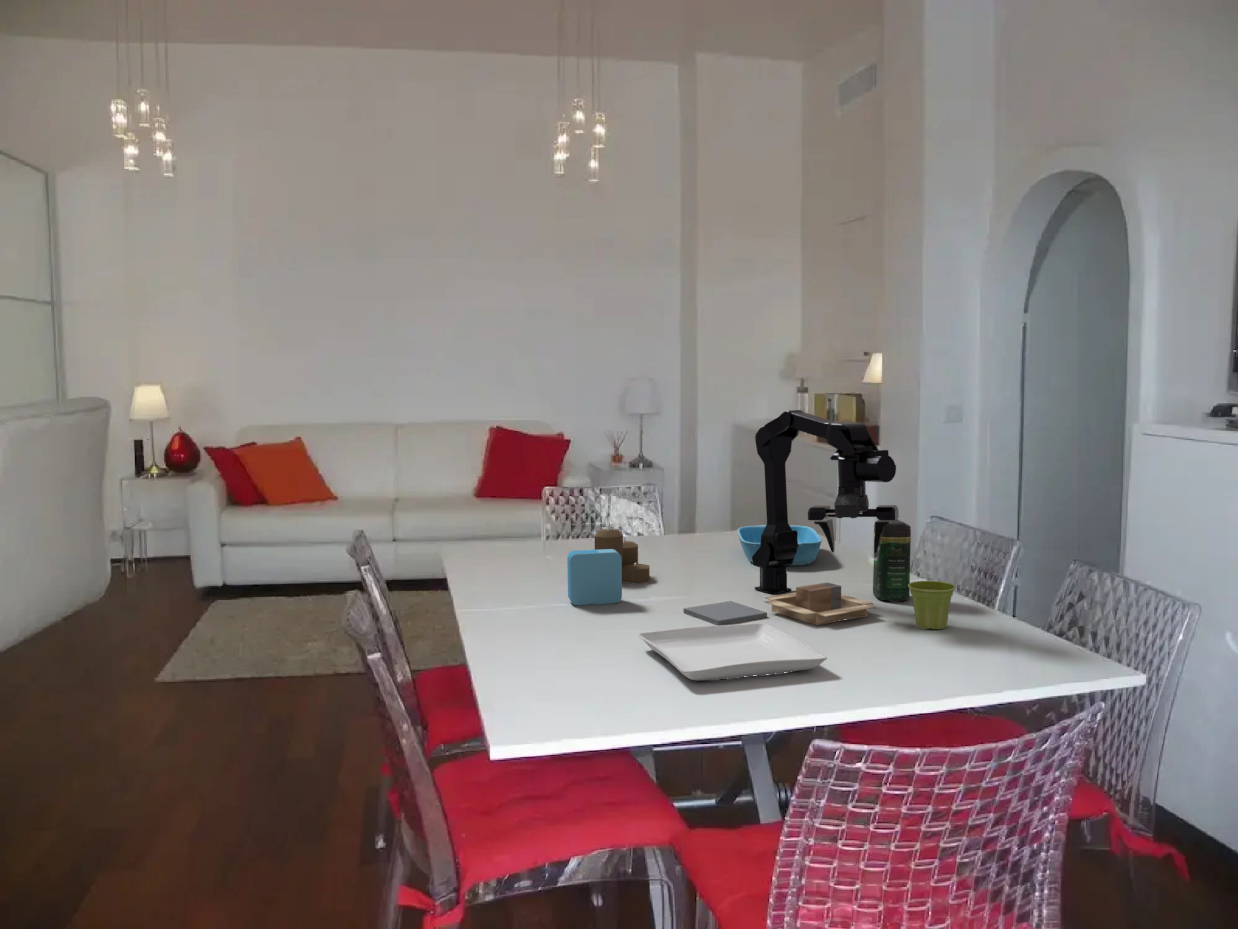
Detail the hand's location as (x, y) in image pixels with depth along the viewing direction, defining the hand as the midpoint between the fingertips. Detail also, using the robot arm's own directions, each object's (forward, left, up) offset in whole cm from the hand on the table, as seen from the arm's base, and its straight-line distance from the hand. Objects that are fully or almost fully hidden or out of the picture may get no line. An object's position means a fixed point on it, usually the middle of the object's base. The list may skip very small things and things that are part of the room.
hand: (854, 552), depth 223 cm
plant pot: (+17, +5, -14) cm, 23 cm away
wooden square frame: (-4, -7, -13) cm, 15 cm away
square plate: (+14, -45, -14) cm, 49 cm away
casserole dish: (-60, +28, -14) cm, 67 cm away
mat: (-14, -25, -13) cm, 31 cm away
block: (-4, -7, -14) cm, 16 cm away
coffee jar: (-6, +17, -14) cm, 23 cm away
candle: (-59, -25, -14) cm, 65 cm away
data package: (-40, -43, -14) cm, 60 cm away
